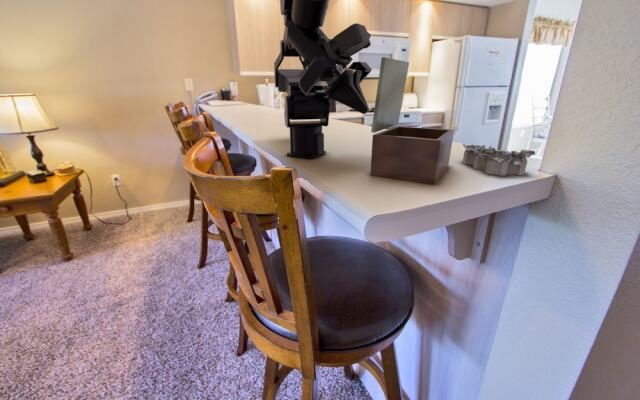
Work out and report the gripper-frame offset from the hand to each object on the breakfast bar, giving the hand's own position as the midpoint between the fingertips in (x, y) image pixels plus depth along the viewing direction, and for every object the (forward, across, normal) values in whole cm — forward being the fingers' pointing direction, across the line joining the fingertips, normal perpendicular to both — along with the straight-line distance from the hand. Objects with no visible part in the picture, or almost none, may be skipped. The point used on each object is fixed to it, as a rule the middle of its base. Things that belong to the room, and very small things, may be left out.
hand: (366, 112), depth 53 cm
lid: (+1, 0, -5) cm, 5 cm away
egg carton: (+22, +8, -8) cm, 25 cm away
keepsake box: (+13, 0, 0) cm, 13 cm away
